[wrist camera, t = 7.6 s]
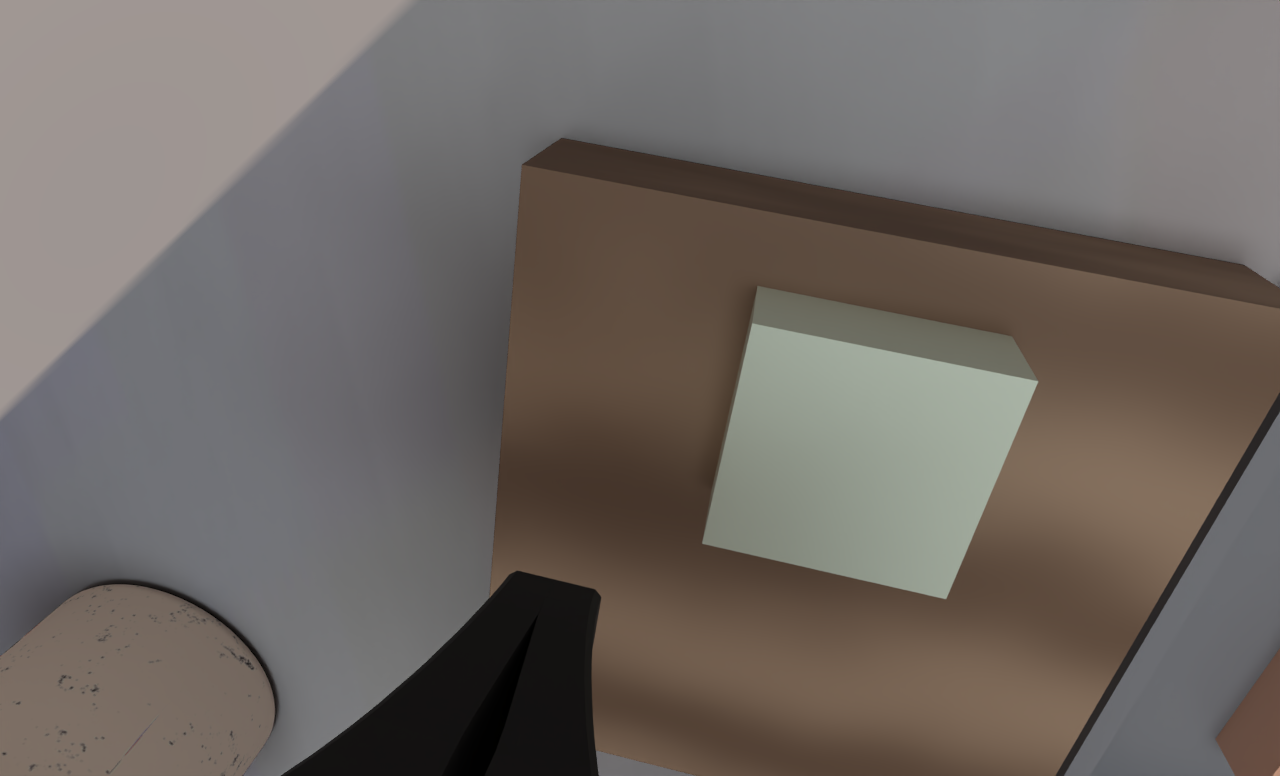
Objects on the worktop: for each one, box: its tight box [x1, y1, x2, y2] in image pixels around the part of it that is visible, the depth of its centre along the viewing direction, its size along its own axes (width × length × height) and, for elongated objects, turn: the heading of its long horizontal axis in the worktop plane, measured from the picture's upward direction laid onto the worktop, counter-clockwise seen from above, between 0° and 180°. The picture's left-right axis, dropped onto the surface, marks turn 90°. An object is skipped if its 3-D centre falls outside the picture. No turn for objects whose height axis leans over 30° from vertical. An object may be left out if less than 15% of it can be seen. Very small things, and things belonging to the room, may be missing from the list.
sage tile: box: [702, 286, 1038, 599], centre depth 16 cm, size 5×5×2 cm
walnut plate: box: [489, 138, 1280, 776], centre depth 20 cm, size 16×15×3 cm
